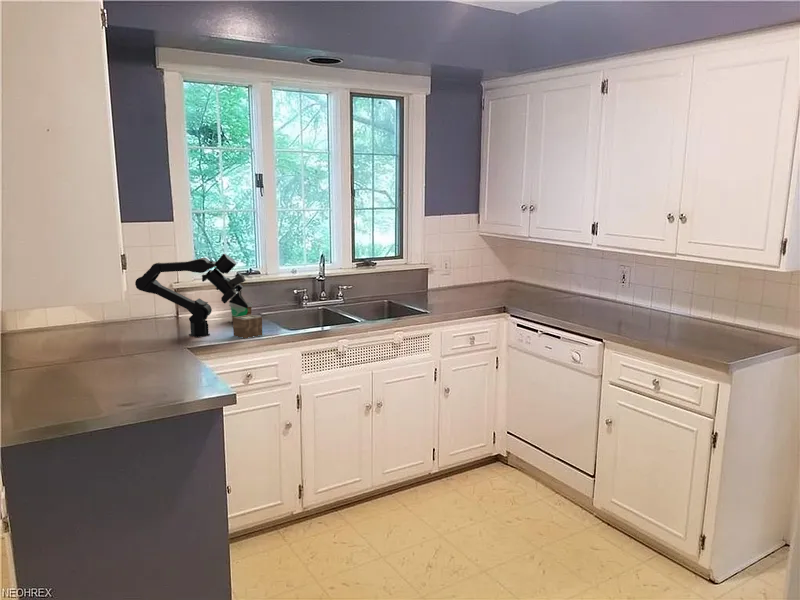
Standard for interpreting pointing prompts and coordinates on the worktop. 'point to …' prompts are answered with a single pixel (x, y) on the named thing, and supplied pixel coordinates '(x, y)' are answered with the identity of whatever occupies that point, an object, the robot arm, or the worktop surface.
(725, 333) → the worktop surface
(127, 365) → the worktop surface
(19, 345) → the worktop surface
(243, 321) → the walnut block
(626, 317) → the worktop surface
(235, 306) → the food container
